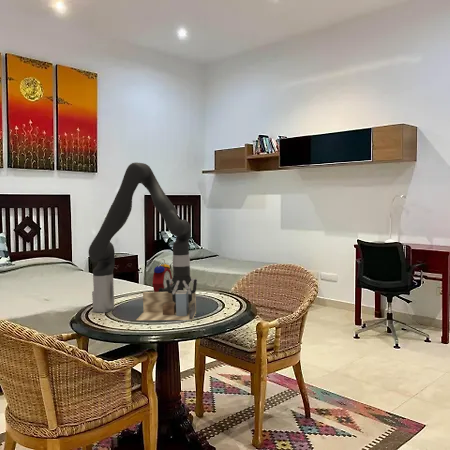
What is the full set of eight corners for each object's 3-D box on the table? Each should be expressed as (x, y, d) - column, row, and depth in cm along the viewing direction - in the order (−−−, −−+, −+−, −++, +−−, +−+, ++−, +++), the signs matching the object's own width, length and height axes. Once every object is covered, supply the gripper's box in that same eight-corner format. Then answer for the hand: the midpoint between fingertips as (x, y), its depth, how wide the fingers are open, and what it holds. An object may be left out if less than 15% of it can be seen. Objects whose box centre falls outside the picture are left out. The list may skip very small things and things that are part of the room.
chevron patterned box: (135, 322, 190) (134, 299, 190) (144, 313, 205) (143, 292, 204) (191, 322, 189) (191, 298, 188) (196, 313, 204) (195, 291, 203)
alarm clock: (163, 297, 240) (162, 260, 239) (148, 296, 242) (147, 260, 241) (173, 291, 254) (171, 256, 253) (158, 291, 256) (157, 256, 255)
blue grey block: (176, 316, 195) (175, 293, 195) (178, 312, 202) (178, 290, 202) (186, 315, 195) (185, 293, 194) (188, 311, 202) (188, 289, 201)
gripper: (163, 266, 194) (164, 304, 195) (196, 265, 193) (197, 304, 194) (166, 263, 202) (168, 300, 203) (198, 263, 201) (199, 300, 202)
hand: (182, 302), depth 198 cm, fingers open, 6 cm apart
